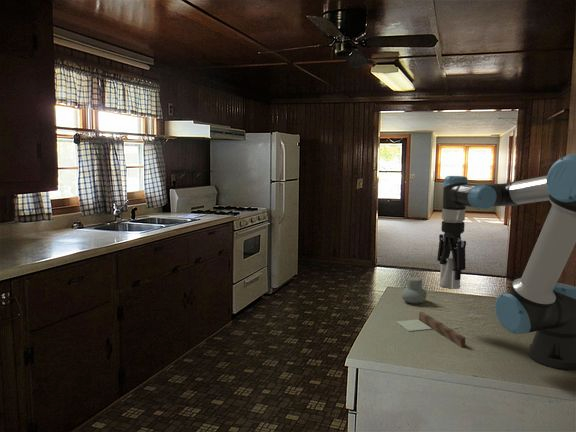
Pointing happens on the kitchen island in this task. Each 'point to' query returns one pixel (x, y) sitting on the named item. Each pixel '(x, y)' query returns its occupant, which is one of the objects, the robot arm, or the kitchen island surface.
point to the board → (413, 325)
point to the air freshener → (414, 291)
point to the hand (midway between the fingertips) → (449, 285)
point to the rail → (442, 329)
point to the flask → (447, 275)
